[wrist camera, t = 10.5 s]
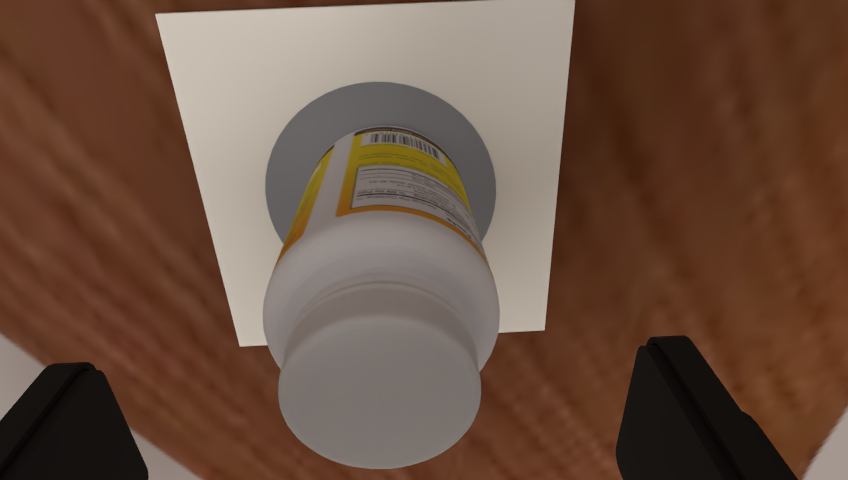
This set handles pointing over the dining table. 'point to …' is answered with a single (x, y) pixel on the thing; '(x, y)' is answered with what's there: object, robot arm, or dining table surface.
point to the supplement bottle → (381, 304)
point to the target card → (375, 122)
